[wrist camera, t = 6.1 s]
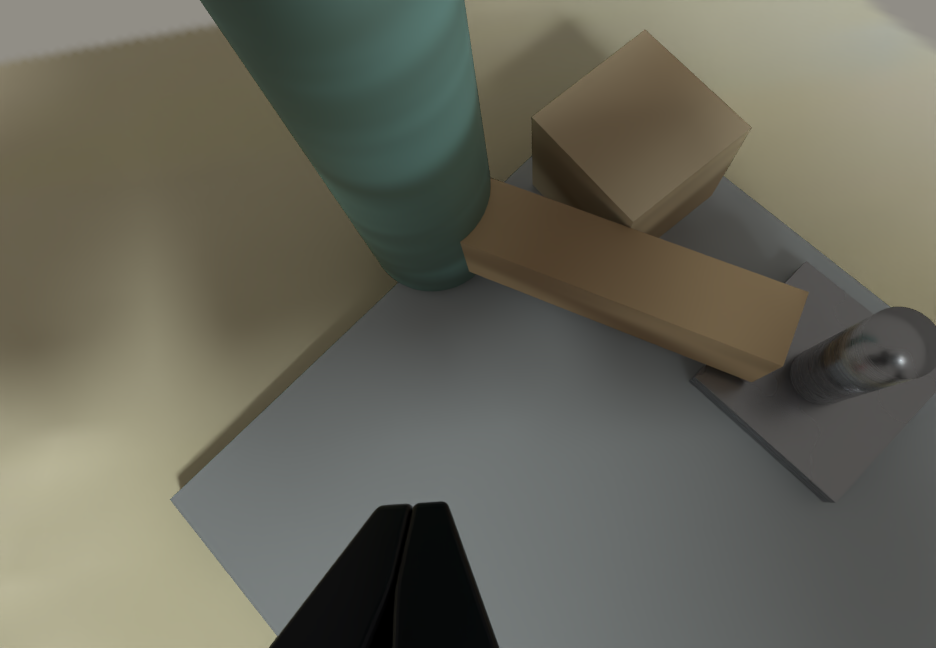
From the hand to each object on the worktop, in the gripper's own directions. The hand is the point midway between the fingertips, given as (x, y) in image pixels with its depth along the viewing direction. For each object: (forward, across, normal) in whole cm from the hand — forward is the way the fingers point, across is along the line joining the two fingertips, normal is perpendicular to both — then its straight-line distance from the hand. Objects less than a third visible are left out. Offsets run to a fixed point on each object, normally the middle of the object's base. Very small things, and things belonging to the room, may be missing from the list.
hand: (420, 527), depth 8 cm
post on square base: (+6, -8, +3) cm, 10 cm away
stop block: (+10, -4, 0) cm, 11 cm away
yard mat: (+5, -3, +5) cm, 8 cm away
